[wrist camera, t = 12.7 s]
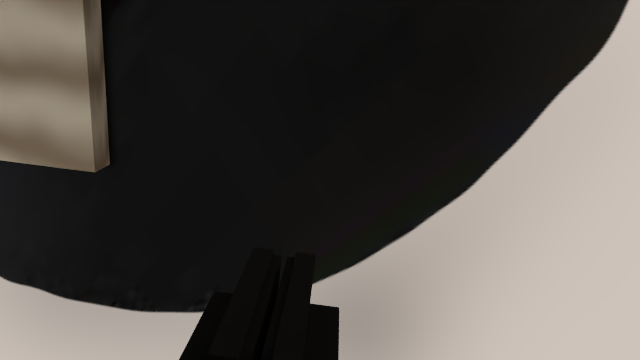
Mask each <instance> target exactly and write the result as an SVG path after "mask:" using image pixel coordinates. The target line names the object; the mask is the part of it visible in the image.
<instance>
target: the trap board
mask: <svg viewBox="0 0 640 360" xmlns="http://www.w3.org/2000/svg"><path fill="white" fill-rule="evenodd" d="M0 160H2V161H10V162H18V163H26V164H34V165H42V166H50V167H57V168H65V169H73V170H81V171H89V172H96V171H98V170H100V169H102V168H104V167H106V166H108V165H110V156H109V139H108V122H107V105H106V87H105V70H104V53H103V36H102V18H101V1H100V0H0Z"/></svg>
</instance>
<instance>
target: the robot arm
mask: <svg viewBox="0 0 640 360" xmlns="http://www.w3.org/2000/svg"><path fill="white" fill-rule="evenodd" d="M315 258H316V255H314V254H306V253H299V252H296V254H295V257H287V260H286V264H285V268H284V271H283V275H282V279H281V283H280V287H279V279H280V269H281V256H280V255H275V250H274V249H268V248H260V247H254V248H253V250H252V252H251V255H250V257H249V259H248V261H247V264H246V266H245V268H244V271H243V273H242V275H241V277H240V280H239V282H238V284H237V287H236V289H235V291H234V293H233V294H232V293H224V292H217V291H216V292H214V294H213V295H212V297H211V299H210V301H209V303H208V305H207V307H206V309H205V311H204V313H203V314H202V316H201V318H200V320H199V323H198V324H197V326H196V328H195V330H194V332H193V334H192V336H191V338H190V340H189V342H188V344H187V346H186V347H185V349H184V351H183V353H182V355H181V357H180V359H179V360H338V345H339V308H338V307H330V306H324V305H316V304H310V297H311V289H312V281H313V273H314V266H315ZM278 290H279V291H278Z"/></svg>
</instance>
